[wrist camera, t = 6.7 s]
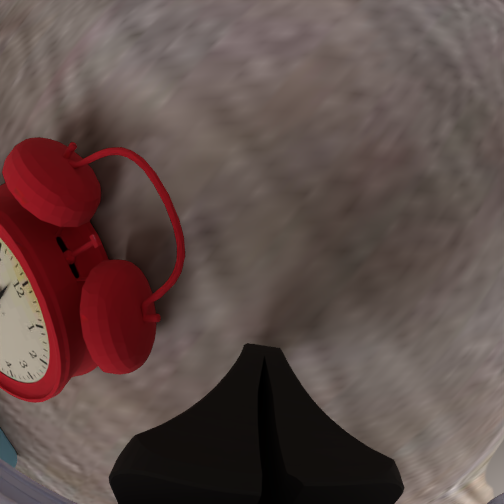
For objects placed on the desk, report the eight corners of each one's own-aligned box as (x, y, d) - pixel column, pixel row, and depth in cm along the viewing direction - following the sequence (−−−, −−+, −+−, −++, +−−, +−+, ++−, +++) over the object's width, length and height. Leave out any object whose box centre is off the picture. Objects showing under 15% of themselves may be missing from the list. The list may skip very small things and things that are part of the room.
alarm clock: (-79, 259, 9) (-16, 47, 3) (-9, 226, 14) (131, 68, 9) (4, 414, 11) (182, 458, 5) (61, 361, 17) (252, 318, 11)
